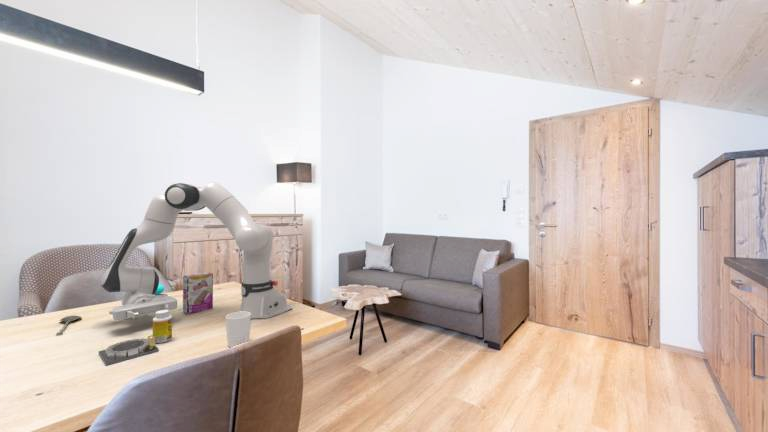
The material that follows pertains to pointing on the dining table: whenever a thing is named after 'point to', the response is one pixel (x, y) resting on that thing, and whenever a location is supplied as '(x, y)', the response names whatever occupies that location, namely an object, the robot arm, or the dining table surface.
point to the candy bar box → (197, 292)
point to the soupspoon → (67, 320)
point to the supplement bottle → (162, 326)
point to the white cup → (238, 328)
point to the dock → (128, 350)
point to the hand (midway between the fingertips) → (151, 312)
